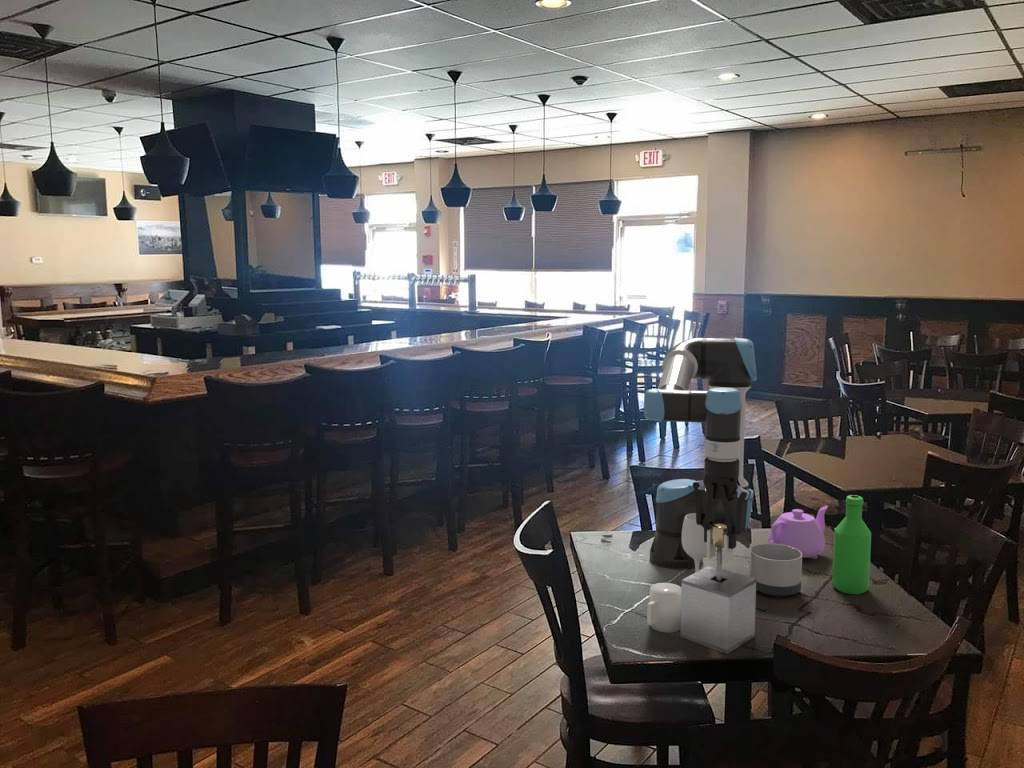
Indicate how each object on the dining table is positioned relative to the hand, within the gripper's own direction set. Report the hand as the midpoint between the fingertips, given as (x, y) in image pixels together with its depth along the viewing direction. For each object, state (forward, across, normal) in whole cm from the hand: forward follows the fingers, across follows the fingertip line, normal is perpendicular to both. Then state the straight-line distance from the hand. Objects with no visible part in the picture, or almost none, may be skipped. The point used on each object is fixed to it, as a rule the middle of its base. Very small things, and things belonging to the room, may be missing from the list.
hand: (719, 558), depth 177 cm
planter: (+19, -3, +34) cm, 39 cm away
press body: (+19, 0, 0) cm, 19 cm away
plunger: (+15, 0, 0) cm, 15 cm away
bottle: (+19, +11, +48) cm, 53 cm away
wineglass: (+19, -16, +17) cm, 30 cm away
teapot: (+19, -10, +63) cm, 67 cm away
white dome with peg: (+19, -12, -5) cm, 23 cm away
